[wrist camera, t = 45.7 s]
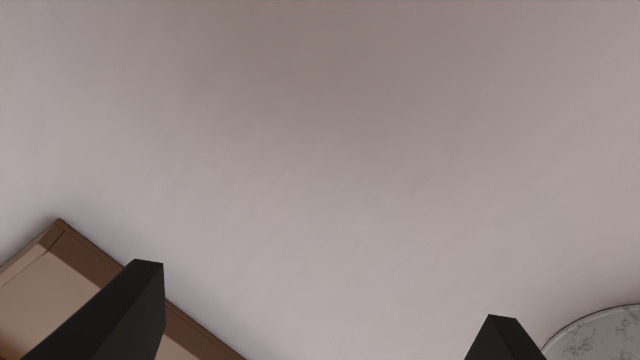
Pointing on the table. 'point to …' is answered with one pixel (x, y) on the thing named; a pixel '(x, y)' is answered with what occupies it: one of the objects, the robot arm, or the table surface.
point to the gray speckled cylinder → (599, 337)
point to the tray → (78, 297)
